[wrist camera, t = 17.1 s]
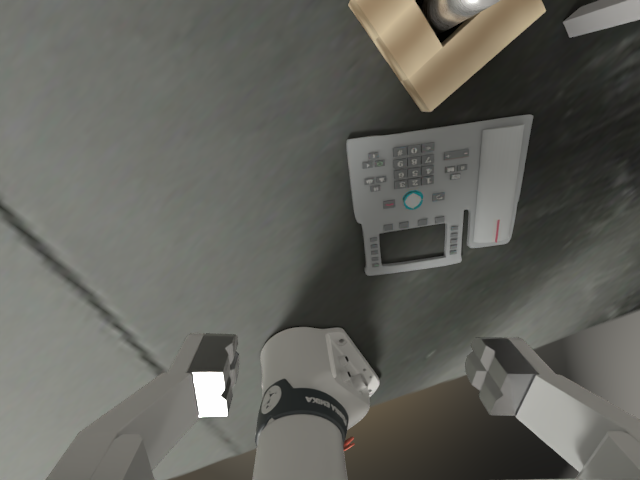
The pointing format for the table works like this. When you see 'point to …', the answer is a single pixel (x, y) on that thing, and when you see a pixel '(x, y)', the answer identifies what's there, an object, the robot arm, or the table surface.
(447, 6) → the peg
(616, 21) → the pink-topped arch frame
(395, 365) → the table surface
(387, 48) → the socket block
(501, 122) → the office telephone
